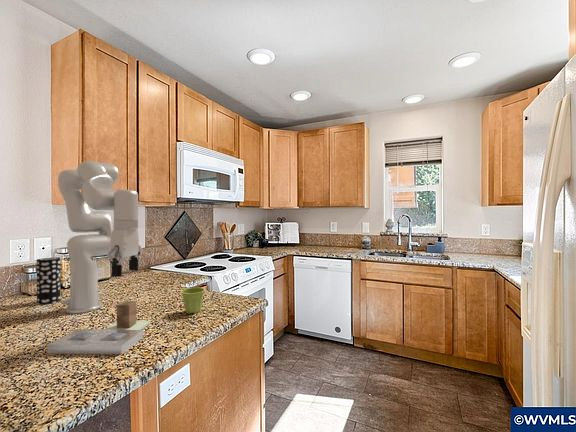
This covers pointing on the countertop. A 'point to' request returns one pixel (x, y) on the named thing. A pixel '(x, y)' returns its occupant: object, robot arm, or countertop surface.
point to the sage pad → (137, 326)
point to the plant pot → (193, 299)
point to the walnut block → (126, 314)
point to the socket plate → (96, 341)
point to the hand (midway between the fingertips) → (125, 273)
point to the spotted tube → (48, 280)
